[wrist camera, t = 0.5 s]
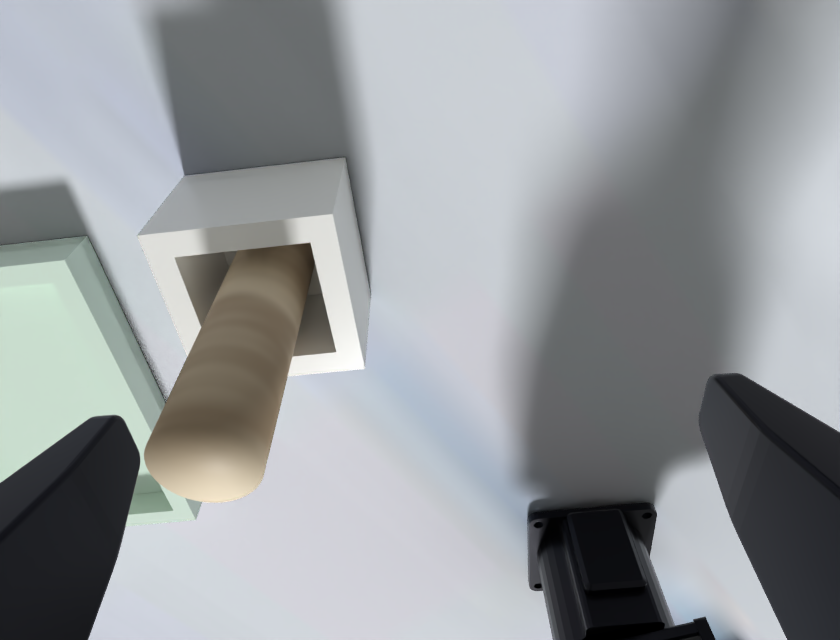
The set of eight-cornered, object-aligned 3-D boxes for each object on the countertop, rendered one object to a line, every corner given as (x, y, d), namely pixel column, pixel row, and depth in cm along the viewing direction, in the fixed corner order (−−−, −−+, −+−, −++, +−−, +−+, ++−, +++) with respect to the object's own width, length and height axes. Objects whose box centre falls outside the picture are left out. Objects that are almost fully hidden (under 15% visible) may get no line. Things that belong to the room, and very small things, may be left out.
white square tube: (371, 295, 24) (364, 368, 20) (230, 310, 24) (199, 385, 20) (345, 157, 21) (332, 214, 17) (184, 175, 21) (136, 235, 17)
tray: (206, 489, 30) (196, 520, 29) (10, 507, 31) (-10, 538, 29) (87, 235, 22) (64, 260, 21) (-175, 264, 23) (-216, 290, 21)
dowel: (323, 277, 22) (276, 497, 14) (253, 284, 23) (168, 507, 14) (308, 212, 21) (246, 416, 13) (233, 220, 21) (125, 428, 13)
